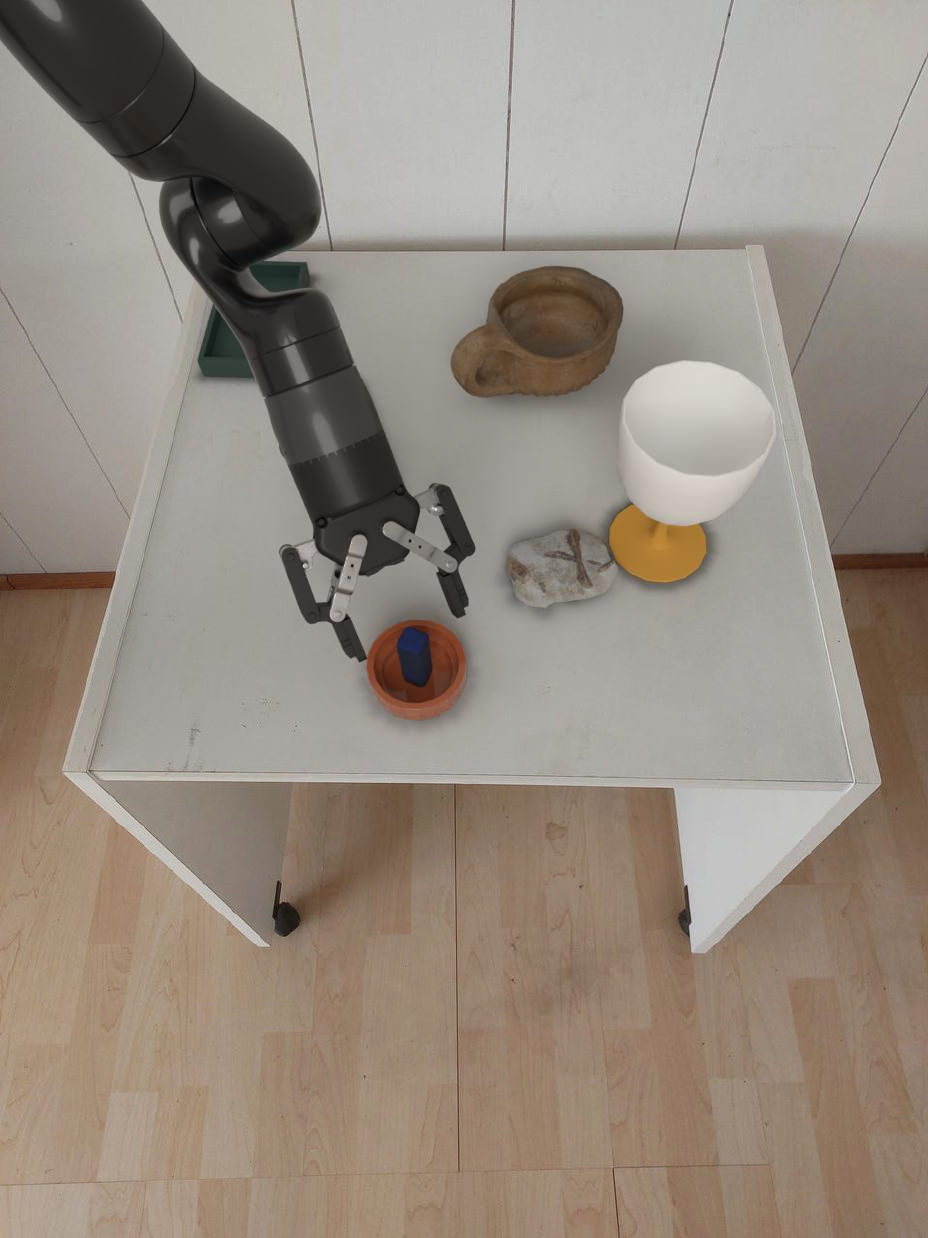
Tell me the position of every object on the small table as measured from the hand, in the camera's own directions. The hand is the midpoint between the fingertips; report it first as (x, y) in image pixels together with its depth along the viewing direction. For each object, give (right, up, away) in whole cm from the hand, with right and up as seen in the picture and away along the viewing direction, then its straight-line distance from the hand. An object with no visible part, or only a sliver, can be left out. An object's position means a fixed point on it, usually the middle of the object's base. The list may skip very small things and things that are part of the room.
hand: (411, 636), depth 68 cm
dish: (0, -4, +5) cm, 7 cm away
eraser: (0, -4, +5) cm, 6 cm away
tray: (-18, +33, +25) cm, 46 cm away
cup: (+22, +8, +12) cm, 26 cm away
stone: (+13, +5, +10) cm, 17 cm away
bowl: (+11, +27, +22) cm, 36 cm away
